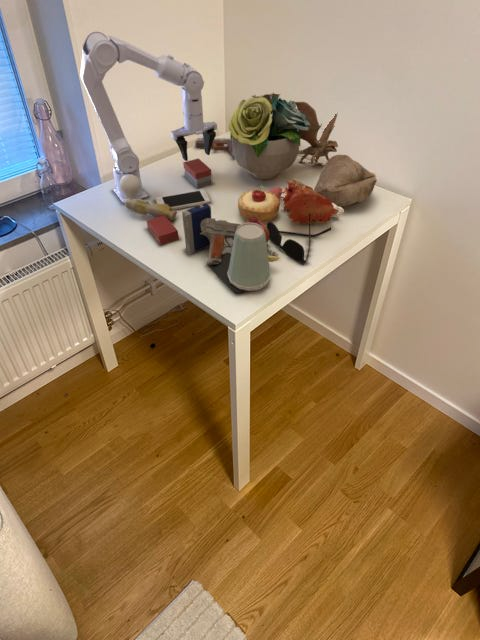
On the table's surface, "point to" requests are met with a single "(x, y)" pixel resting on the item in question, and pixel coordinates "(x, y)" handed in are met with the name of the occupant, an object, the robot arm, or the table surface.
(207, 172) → the oxblood book
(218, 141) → the handgun
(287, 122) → the flower arrangement
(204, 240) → the cassette player
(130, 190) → the light bulb
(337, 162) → the seashell
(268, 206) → the pastry
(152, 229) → the oxblood stack
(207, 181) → the grey stack
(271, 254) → the toy
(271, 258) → the fox
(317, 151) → the dragon
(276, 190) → the figurine
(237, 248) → the disposable coffee cup
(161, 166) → the table surface
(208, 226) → the pistol
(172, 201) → the smartphone
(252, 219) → the fruit
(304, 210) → the seashell
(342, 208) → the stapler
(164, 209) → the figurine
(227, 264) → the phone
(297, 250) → the sunglasses
